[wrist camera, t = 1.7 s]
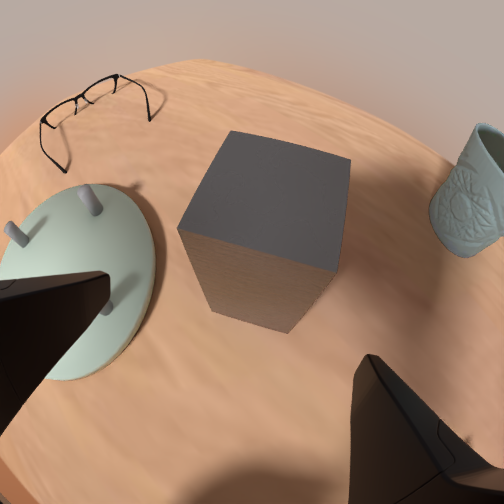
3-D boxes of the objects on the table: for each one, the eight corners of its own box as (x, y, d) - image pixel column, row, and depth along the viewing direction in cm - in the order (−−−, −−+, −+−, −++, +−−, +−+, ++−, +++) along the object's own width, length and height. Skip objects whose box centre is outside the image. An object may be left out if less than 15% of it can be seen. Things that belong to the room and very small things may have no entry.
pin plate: (182, 354, 19) (166, 347, 15) (9, 389, 15) (-21, 384, 12) (141, 167, 27) (130, 138, 23) (8, 226, 24) (-10, 207, 20)
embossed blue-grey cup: (480, 215, 26) (530, 158, 16) (483, 280, 22) (554, 225, 11) (423, 179, 28) (468, 107, 17) (418, 242, 24) (487, 164, 13)
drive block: (287, 333, 20) (336, 272, 9) (212, 311, 21) (176, 228, 10) (305, 263, 23) (351, 157, 12) (236, 243, 23) (231, 128, 13)
